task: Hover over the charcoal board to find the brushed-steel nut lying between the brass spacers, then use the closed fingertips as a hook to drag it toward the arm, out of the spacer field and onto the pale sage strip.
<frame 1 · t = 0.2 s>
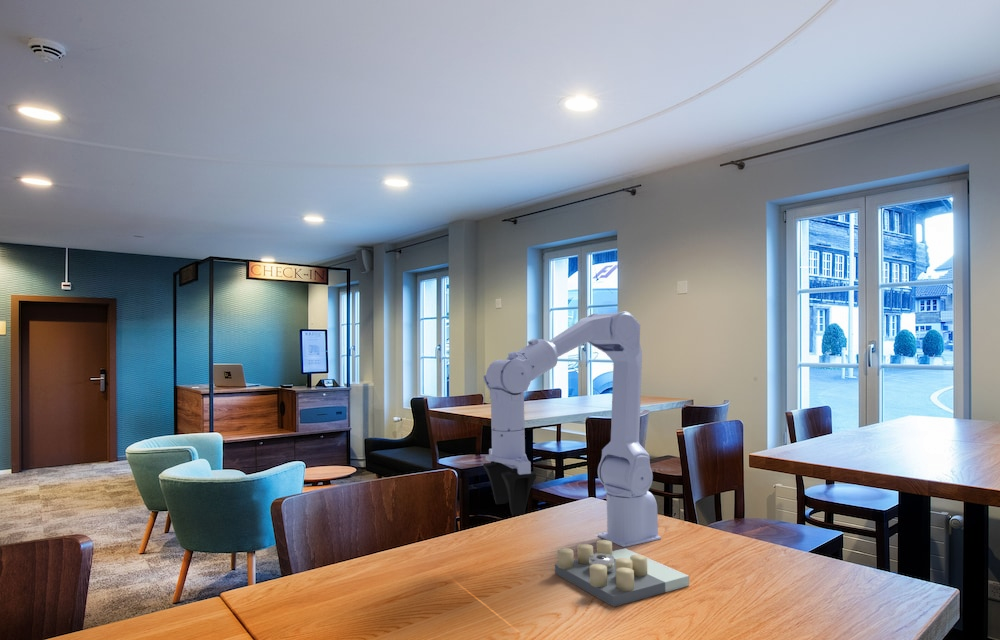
hand: (509, 508, 105), 10 cm above the table, tool pointing down, fingers open, 7 cm apart
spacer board: (620, 579, 98), on the table
steel nut: (601, 569, 98), point 1 cm above the table, touching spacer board
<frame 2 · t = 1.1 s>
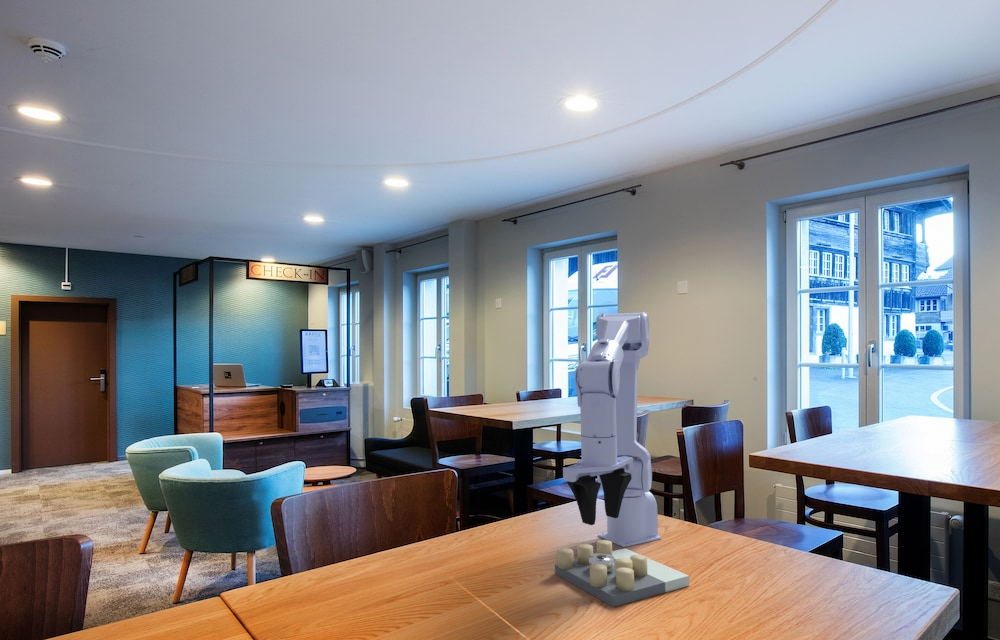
hand: (600, 520, 98), 9 cm above the table, tool pointing down, fingers open, 5 cm apart
nothing on the table moved.
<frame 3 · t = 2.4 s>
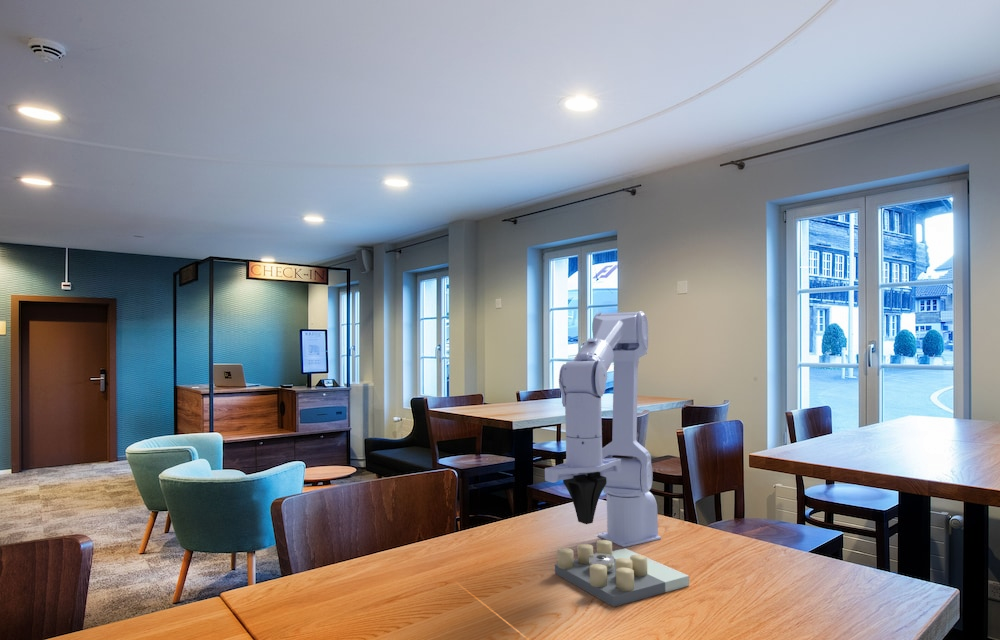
hand: (585, 522, 97), 10 cm above the table, tool pointing down, fingers closed
nothing on the table moved.
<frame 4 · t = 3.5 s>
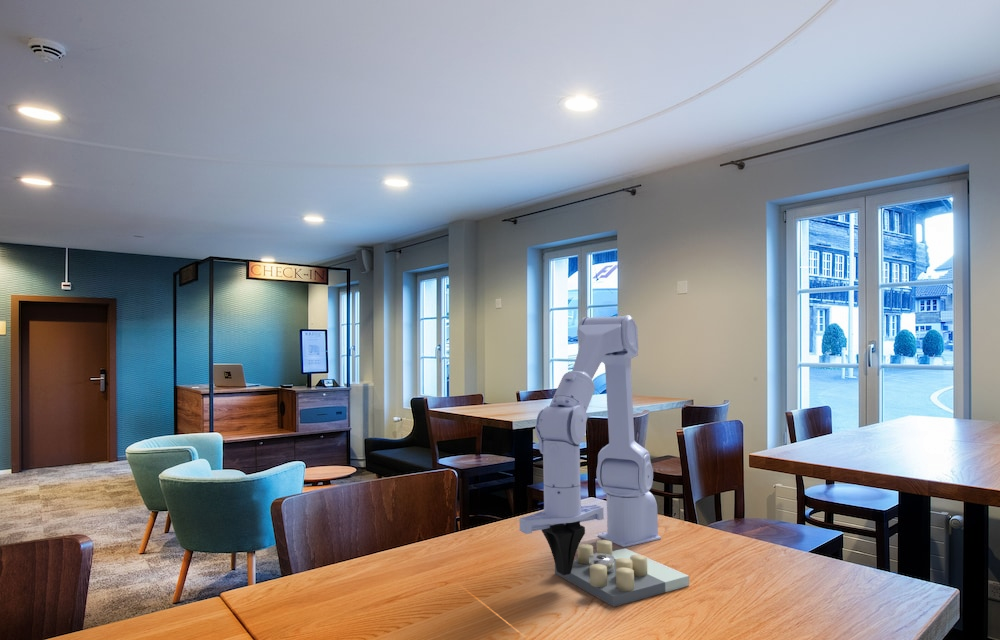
hand: (563, 572, 95), 2 cm above the table, tool pointing down, fingers closed
nothing on the table moved.
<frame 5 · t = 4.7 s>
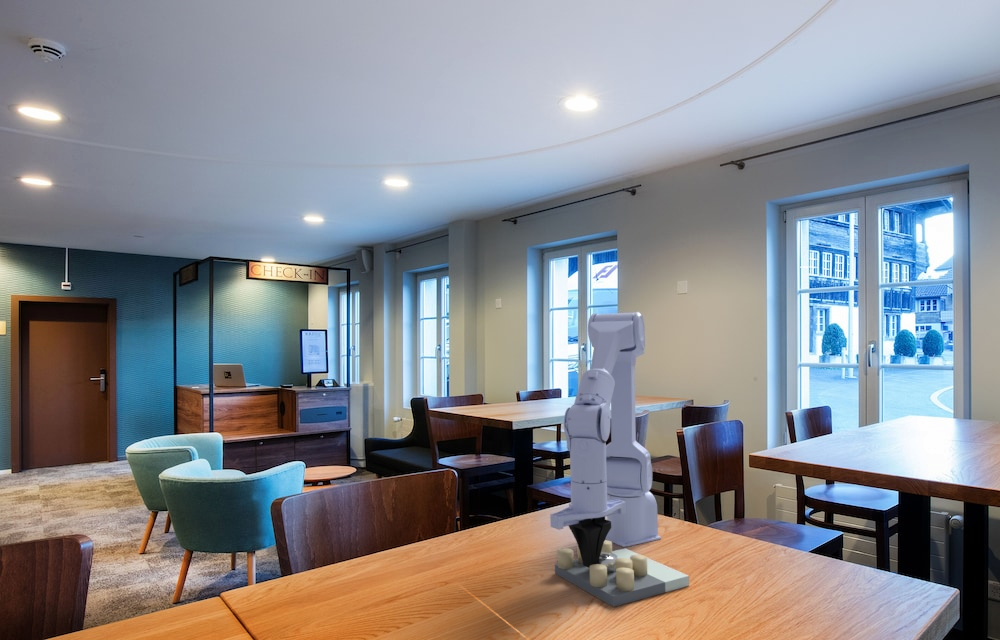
hand: (590, 566, 97), 2 cm above the table, tool pointing down, fingers closed
steel nut: (605, 568, 98), point 2 cm above the table, touching gripper
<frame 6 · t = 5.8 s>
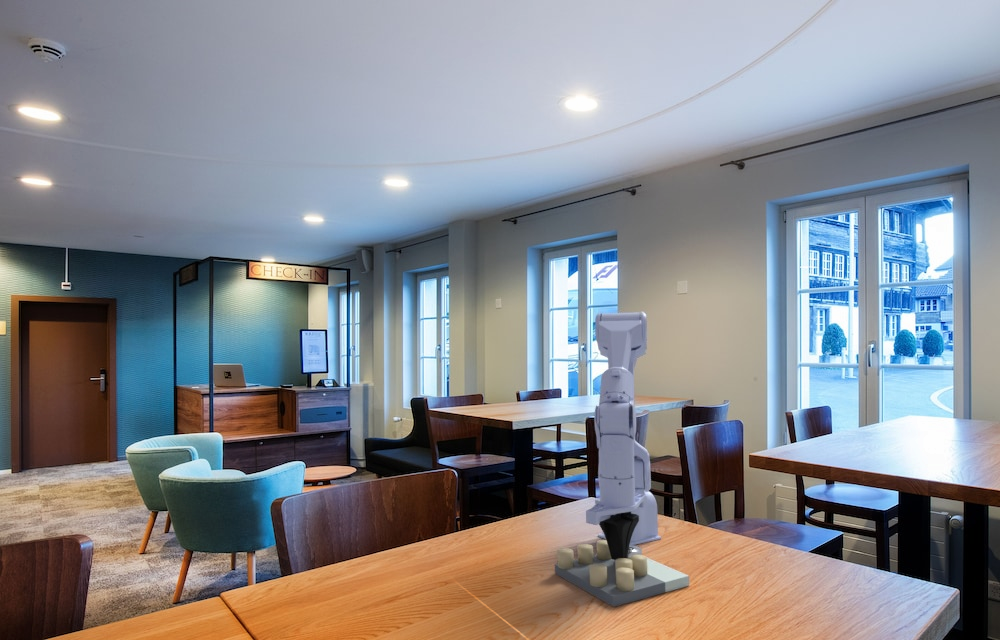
hand: (618, 559, 100), 2 cm above the table, tool pointing down, fingers closed
steel nut: (629, 561, 102), point 2 cm above the table, touching gripper
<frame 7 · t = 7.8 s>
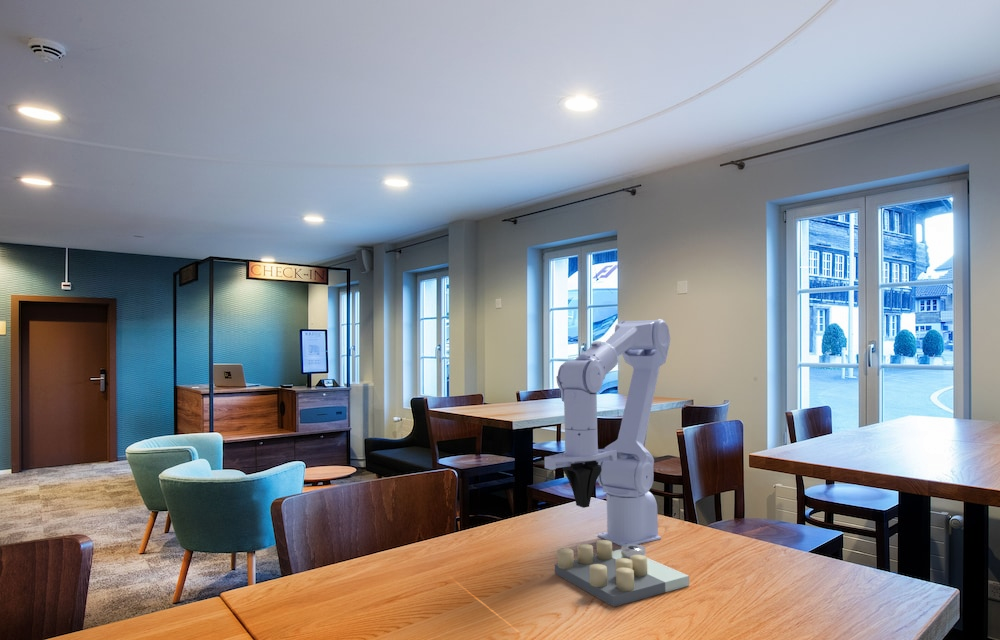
hand: (582, 506, 107), 9 cm above the table, tool pointing down, fingers closed
steel nut: (633, 559, 102), point 1 cm above the table, touching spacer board
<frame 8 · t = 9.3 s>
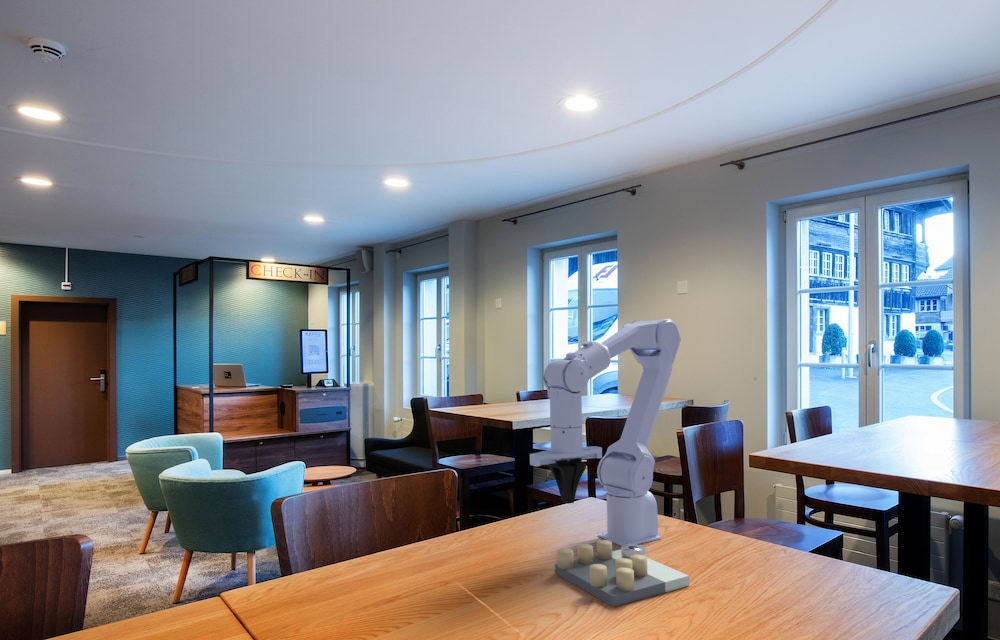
hand: (567, 502, 110), 9 cm above the table, tool pointing down, fingers closed
nothing on the table moved.
at the end: steel nut 1.1 cm from the target spot, point 1.5 cm above the table; steel nut tilted 0° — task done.
